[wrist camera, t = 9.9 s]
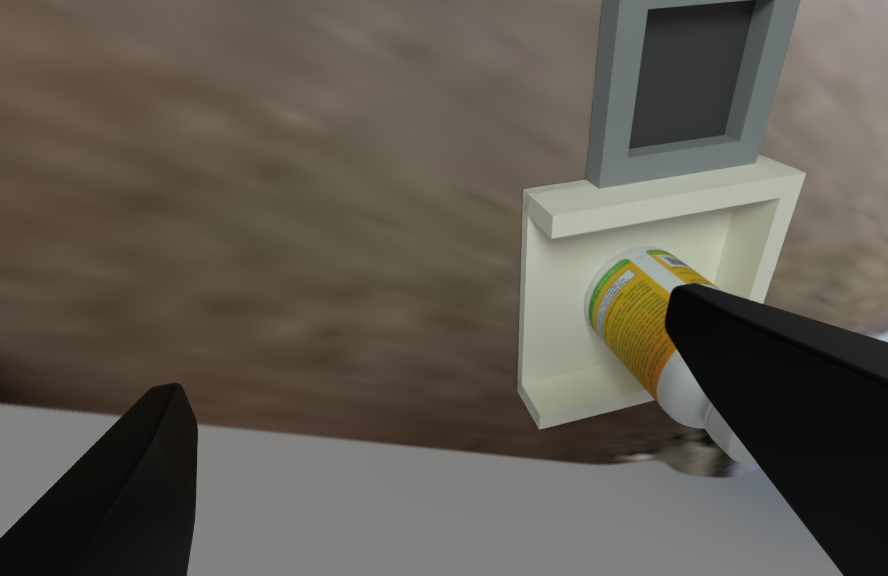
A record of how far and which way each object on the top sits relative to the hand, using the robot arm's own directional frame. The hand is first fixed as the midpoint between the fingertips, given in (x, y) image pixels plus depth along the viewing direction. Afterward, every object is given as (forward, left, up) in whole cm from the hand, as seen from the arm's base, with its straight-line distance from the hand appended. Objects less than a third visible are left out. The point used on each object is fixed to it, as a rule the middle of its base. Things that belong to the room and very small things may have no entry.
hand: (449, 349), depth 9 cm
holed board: (+14, +1, -13) cm, 19 cm away
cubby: (+13, -9, -13) cm, 20 cm away
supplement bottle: (+13, -9, -13) cm, 20 cm away
